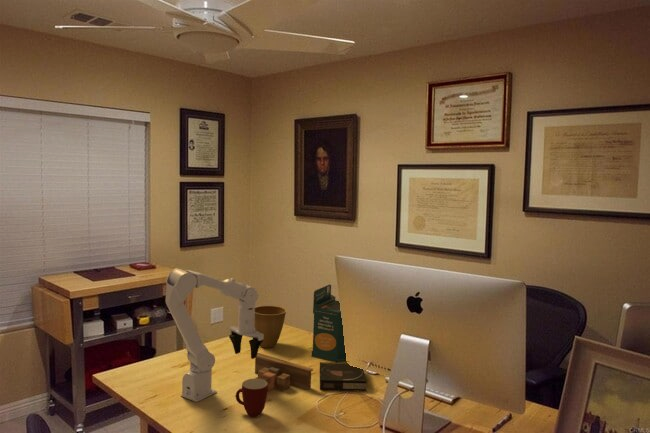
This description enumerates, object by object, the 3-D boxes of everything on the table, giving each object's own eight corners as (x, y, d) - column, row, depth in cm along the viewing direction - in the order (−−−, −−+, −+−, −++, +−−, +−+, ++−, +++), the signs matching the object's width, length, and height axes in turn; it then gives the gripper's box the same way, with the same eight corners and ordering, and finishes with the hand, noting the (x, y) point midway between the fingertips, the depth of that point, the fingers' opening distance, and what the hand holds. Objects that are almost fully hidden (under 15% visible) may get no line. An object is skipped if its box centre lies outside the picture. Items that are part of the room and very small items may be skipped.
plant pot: (278, 353, 207) (279, 316, 206) (245, 348, 211) (246, 312, 209) (289, 341, 222) (290, 307, 221) (258, 337, 225) (259, 303, 224)
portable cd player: (319, 391, 173) (320, 380, 173) (319, 372, 190) (319, 362, 190) (366, 393, 174) (366, 382, 173) (361, 373, 191) (362, 363, 190)
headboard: (299, 396, 168) (299, 376, 167) (243, 378, 181) (243, 359, 180) (312, 388, 175) (313, 368, 174) (257, 371, 188) (258, 352, 187)
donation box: (328, 345, 219) (330, 283, 217) (361, 352, 212) (364, 288, 210) (311, 356, 205) (313, 290, 202) (346, 364, 198) (349, 296, 195)
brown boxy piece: (257, 397, 166) (258, 380, 165) (249, 395, 168) (250, 378, 167) (279, 385, 176) (279, 369, 175) (271, 383, 178) (272, 367, 177)
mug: (229, 417, 152) (230, 386, 151) (239, 405, 160) (240, 376, 159) (262, 422, 150) (263, 390, 149) (270, 410, 158) (271, 380, 157)
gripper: (269, 319, 175) (268, 356, 177) (238, 312, 183) (237, 347, 184) (256, 324, 169) (255, 362, 171) (225, 316, 177) (224, 353, 178)
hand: (245, 355), depth 177 cm, fingers open, 7 cm apart
